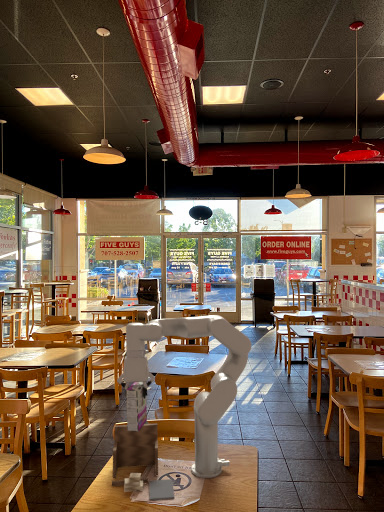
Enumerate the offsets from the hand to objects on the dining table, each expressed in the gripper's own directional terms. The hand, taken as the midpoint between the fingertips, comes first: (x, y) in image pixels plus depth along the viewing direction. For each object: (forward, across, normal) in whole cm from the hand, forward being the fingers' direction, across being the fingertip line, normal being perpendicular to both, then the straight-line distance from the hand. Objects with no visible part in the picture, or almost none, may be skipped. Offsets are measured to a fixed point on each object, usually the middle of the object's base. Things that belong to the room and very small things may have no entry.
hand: (136, 397), depth 160 cm
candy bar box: (+12, 0, 0) cm, 12 cm away
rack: (+31, +1, 0) cm, 31 cm away
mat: (+31, -9, +12) cm, 35 cm away
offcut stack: (+31, +1, +9) cm, 33 cm away
